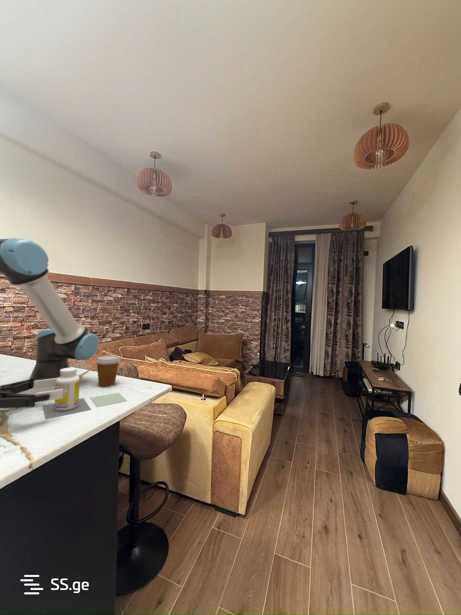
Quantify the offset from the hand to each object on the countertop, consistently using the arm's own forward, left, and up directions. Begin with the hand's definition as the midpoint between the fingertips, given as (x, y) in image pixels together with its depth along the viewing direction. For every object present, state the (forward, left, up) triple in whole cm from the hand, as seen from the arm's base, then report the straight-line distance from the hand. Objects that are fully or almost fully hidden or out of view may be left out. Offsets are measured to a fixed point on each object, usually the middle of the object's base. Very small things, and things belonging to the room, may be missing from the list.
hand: (60, 387), depth 79 cm
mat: (-1, +15, -7) cm, 17 cm away
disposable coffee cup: (-19, +19, -8) cm, 28 cm away
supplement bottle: (-1, +2, -7) cm, 8 cm away
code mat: (-1, +2, -7) cm, 8 cm away
